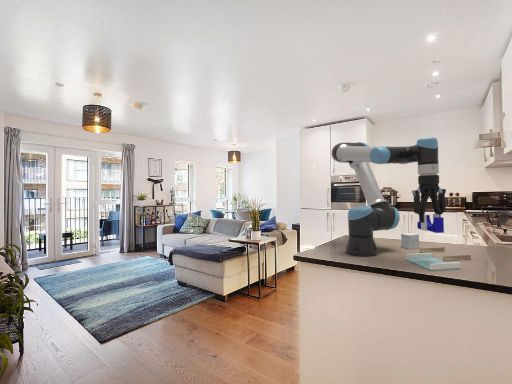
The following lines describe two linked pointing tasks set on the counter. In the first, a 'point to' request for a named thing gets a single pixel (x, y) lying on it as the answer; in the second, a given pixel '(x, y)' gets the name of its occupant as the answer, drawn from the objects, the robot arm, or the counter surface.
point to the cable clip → (434, 224)
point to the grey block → (410, 240)
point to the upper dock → (446, 258)
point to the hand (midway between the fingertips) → (430, 229)
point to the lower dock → (431, 262)
